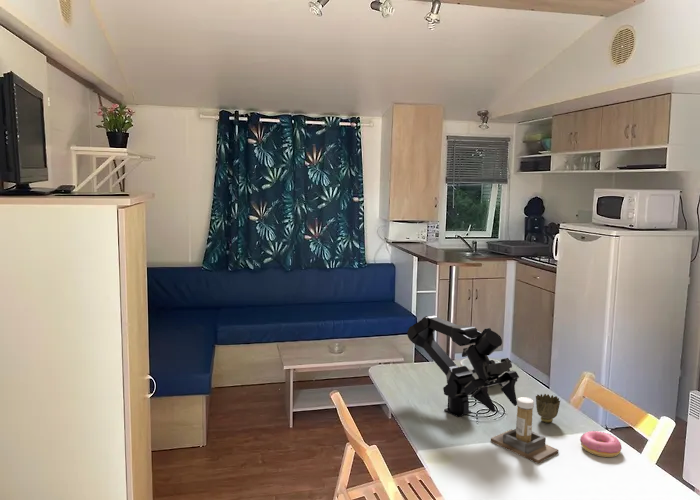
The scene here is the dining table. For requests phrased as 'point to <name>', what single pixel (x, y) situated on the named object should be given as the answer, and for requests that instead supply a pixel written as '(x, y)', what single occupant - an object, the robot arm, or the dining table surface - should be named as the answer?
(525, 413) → the sprinkles bottle
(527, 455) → the socket board
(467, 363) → the cereal bowl
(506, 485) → the dining table surface
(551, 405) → the cup
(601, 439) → the doughnut
